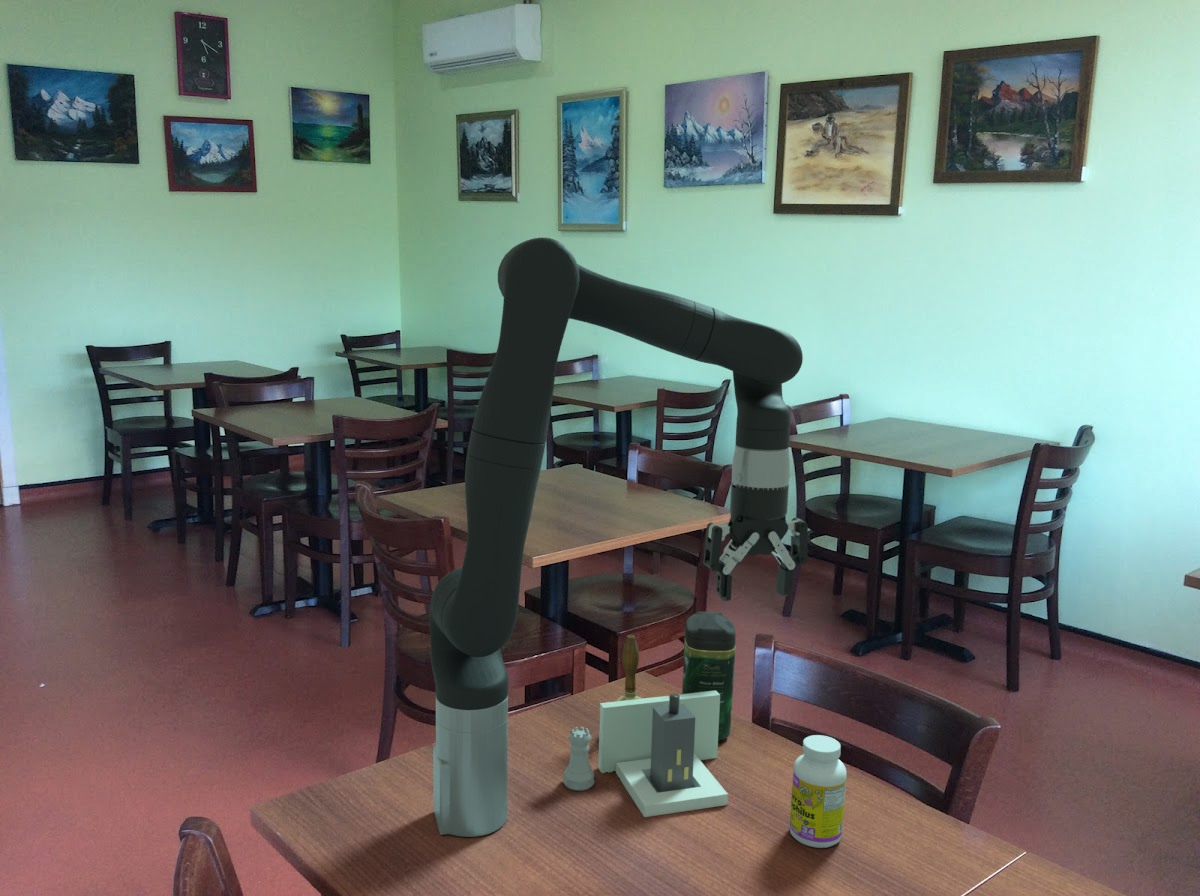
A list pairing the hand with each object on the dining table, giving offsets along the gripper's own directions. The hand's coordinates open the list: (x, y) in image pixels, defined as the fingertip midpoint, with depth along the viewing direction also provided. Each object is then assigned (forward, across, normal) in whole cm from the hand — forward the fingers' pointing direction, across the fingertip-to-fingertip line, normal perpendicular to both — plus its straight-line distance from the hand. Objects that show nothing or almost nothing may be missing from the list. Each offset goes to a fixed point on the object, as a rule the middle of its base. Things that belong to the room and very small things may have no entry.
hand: (753, 596), depth 135 cm
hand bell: (+28, +10, -20) cm, 36 cm away
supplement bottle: (+28, -4, +13) cm, 31 cm away
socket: (+28, +9, -4) cm, 30 cm away
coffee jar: (+28, -2, -18) cm, 34 cm away
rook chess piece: (+28, +22, -7) cm, 37 cm away
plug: (+28, +10, -2) cm, 30 cm away
